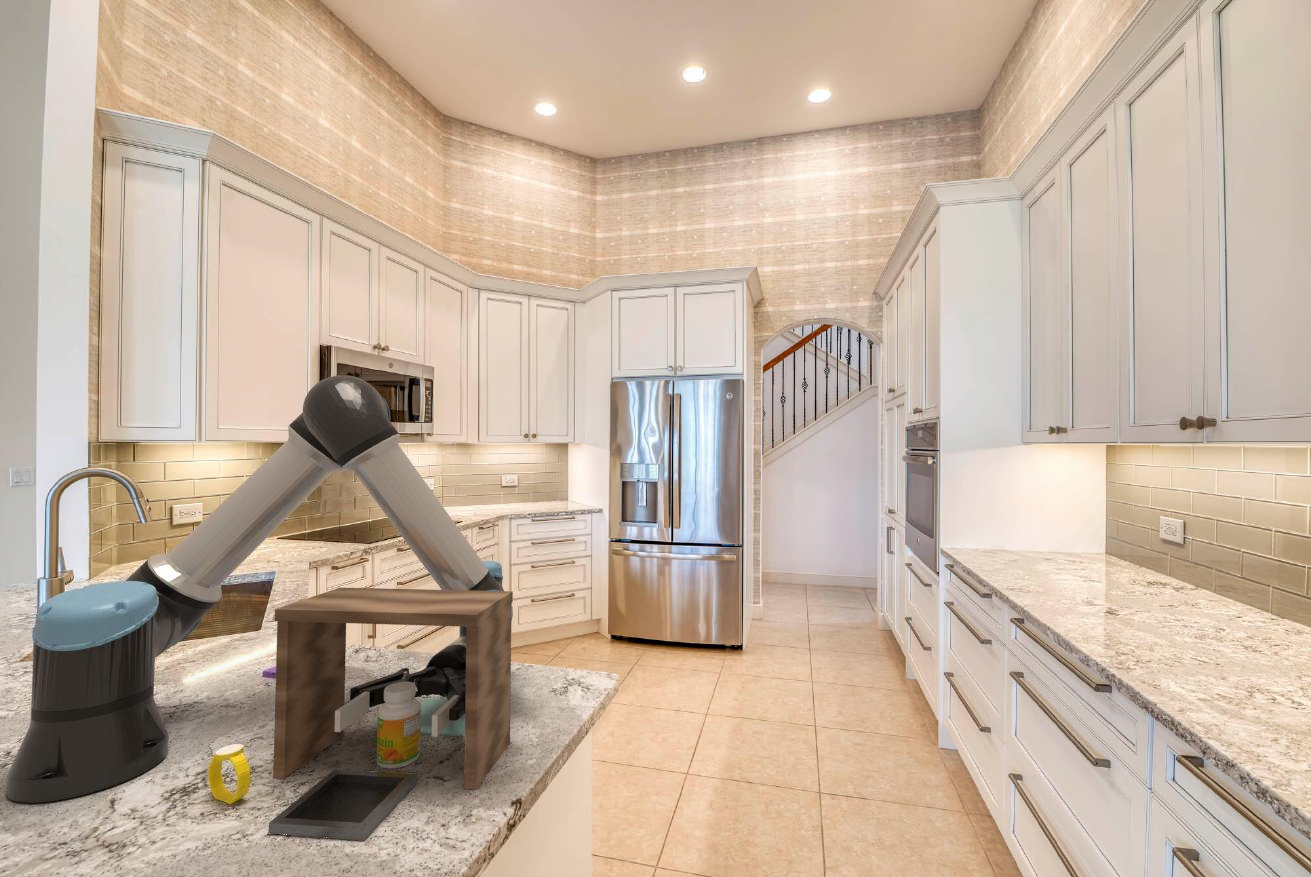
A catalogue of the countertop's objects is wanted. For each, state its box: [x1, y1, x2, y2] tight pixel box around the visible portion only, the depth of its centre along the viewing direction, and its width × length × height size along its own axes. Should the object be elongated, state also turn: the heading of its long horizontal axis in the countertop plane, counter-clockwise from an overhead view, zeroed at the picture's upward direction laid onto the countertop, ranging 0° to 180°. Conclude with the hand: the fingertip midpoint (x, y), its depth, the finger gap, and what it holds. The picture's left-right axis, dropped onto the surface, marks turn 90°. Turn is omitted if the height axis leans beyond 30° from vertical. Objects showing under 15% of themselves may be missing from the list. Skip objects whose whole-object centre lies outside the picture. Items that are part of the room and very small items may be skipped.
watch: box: [207, 743, 251, 805], centre depth 69 cm, size 6×3×6 cm, turn 67°
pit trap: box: [267, 769, 418, 842], centre depth 67 cm, size 11×11×1 cm
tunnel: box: [272, 587, 514, 791], centre depth 79 cm, size 13×27×22 cm, turn 84°
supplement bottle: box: [376, 682, 421, 769], centre depth 79 cm, size 5×5×10 cm
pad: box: [420, 697, 465, 738], centre depth 91 cm, size 12×12×1 cm
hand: (385, 723), depth 75 cm, fingers open, 13 cm apart
